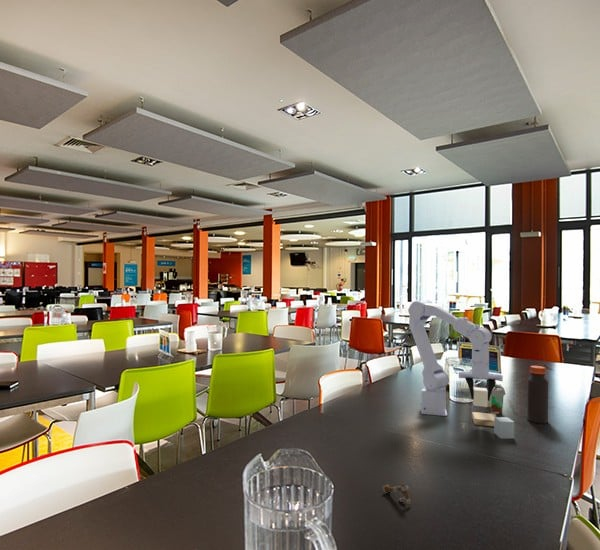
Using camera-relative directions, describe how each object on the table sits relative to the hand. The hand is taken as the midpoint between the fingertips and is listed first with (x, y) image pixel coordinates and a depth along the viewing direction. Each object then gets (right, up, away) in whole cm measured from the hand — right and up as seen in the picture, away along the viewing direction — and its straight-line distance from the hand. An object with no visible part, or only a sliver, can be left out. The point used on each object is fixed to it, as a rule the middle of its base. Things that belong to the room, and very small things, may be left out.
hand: (480, 399), depth 151 cm
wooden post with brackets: (-42, -8, -52) cm, 68 cm away
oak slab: (+3, -9, +2) cm, 10 cm away
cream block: (0, -2, 0) cm, 2 cm away
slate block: (+3, -9, -11) cm, 15 cm away
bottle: (+23, -9, +4) cm, 25 cm away
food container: (+12, -9, +13) cm, 20 cm away
